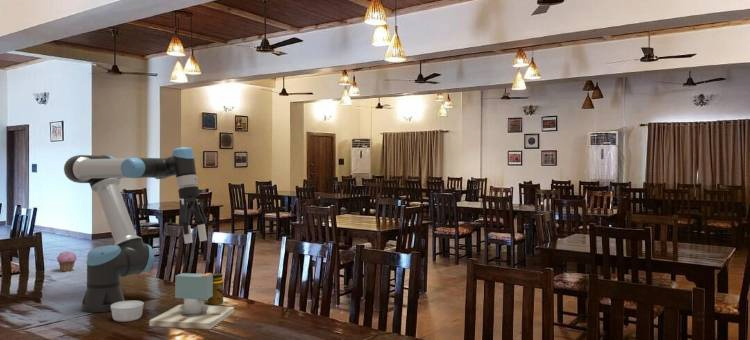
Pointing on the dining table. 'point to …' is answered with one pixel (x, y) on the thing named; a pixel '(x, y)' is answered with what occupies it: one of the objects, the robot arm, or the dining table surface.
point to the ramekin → (127, 310)
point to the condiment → (216, 291)
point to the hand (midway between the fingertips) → (196, 242)
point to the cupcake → (66, 261)
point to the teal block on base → (194, 291)
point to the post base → (192, 318)
